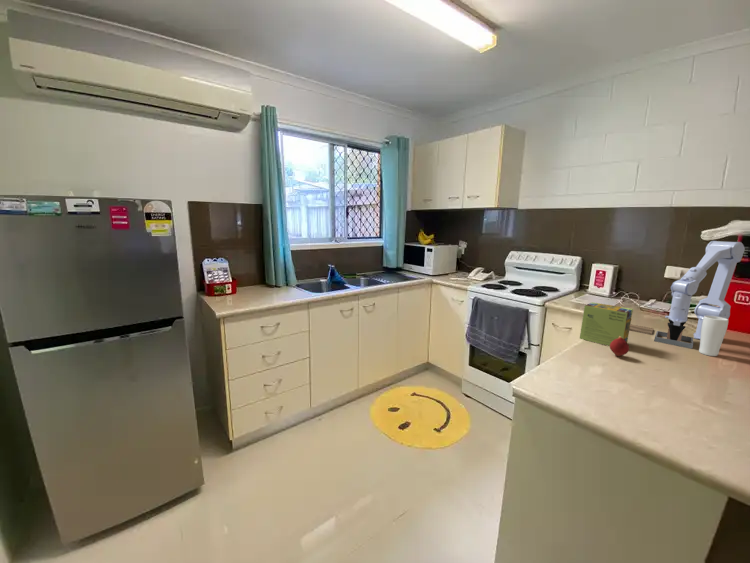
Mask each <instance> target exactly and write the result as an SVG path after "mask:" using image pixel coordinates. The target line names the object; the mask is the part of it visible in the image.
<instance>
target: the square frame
mask: <svg viewBox="0 0 750 563" xmlns="http://www.w3.org/2000/svg"><path fill="white" fill-rule="evenodd" d="M667 334H668V332H666V331H662V330H657V331H656V332H655V336H654V340H653V342H658V343H662V344H666V345H667V344H668V345H671V346H676V347H681V348H686V349H693V347H694V336H693V337H692V336H689V335H682V337H681V342H680V341H675V340H670V339H667ZM659 336H660V337H659ZM664 337H665V338H664ZM689 342H690V343H689Z"/></svg>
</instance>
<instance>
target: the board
mask: <svg viewBox="0 0 750 563" xmlns="http://www.w3.org/2000/svg"><path fill="white" fill-rule="evenodd" d="M654 330H655V328H654V327H647V326H641V325H638V324H631V323H630V329H629V332H636V333H641V334H647V335H651V336H652V335H653V333H654Z"/></svg>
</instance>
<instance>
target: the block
mask: <svg viewBox="0 0 750 563" xmlns="http://www.w3.org/2000/svg"><path fill="white" fill-rule="evenodd" d="M667 329H668V330H667V333H668V334H667V337H666V339H670V330H669V328H667ZM683 332H684V329H683V330H682V332H681V333H680V335H679V338H678V339H677V341H680V342H682V340H681V337H682V336H683Z"/></svg>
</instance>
